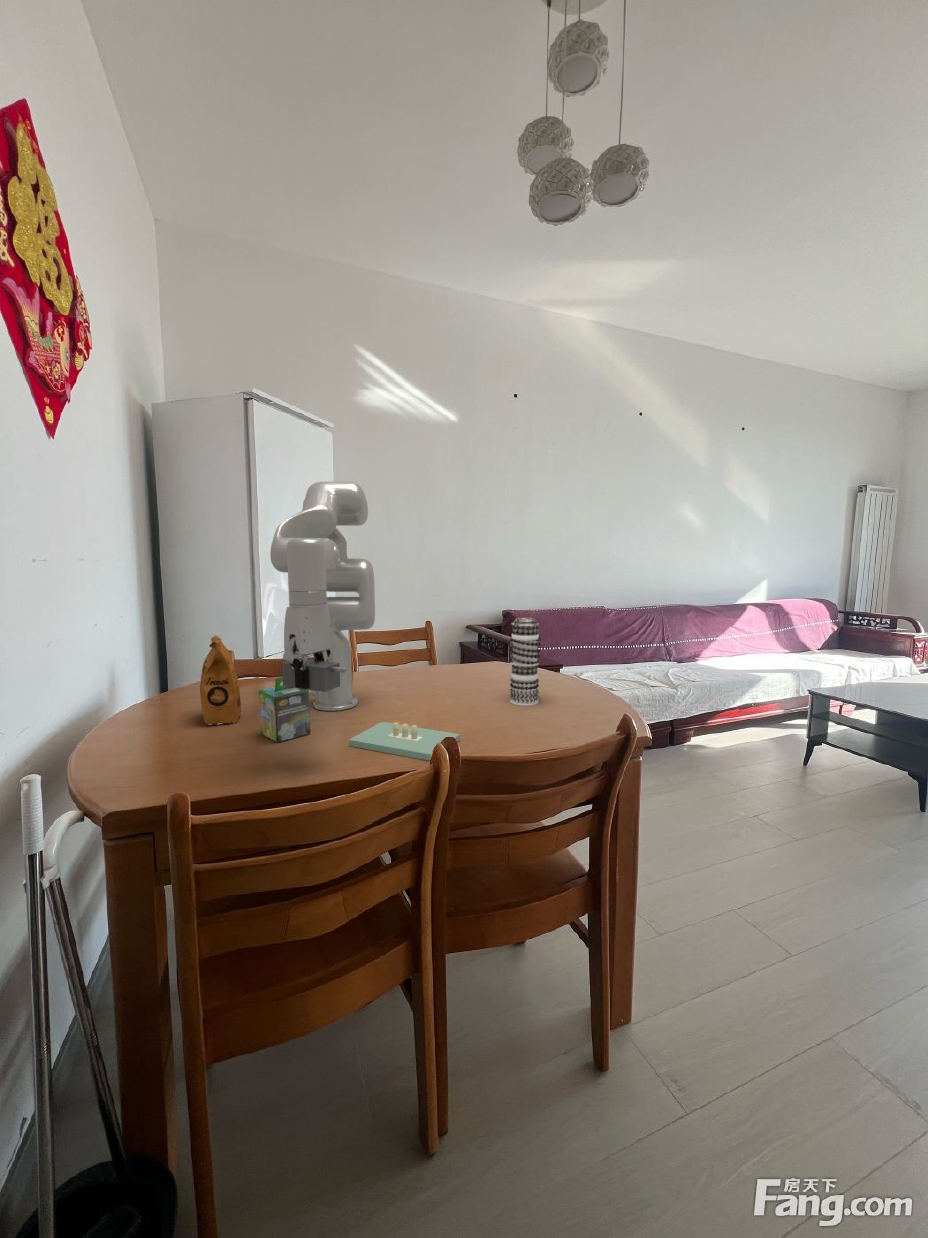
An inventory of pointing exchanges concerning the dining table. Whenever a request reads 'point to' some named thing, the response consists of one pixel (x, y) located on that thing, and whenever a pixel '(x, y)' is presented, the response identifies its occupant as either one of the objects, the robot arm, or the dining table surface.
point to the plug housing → (315, 675)
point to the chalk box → (284, 712)
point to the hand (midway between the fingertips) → (311, 684)
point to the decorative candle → (524, 662)
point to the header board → (401, 740)
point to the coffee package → (219, 686)
